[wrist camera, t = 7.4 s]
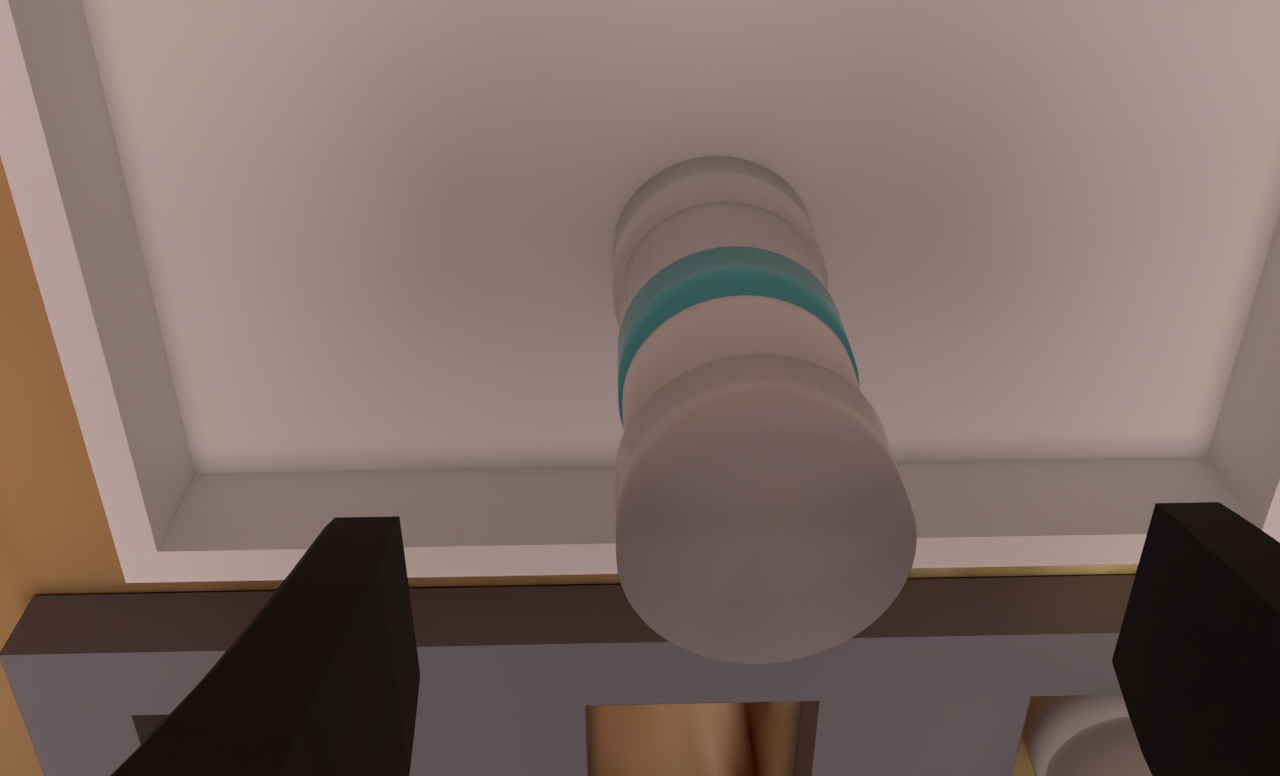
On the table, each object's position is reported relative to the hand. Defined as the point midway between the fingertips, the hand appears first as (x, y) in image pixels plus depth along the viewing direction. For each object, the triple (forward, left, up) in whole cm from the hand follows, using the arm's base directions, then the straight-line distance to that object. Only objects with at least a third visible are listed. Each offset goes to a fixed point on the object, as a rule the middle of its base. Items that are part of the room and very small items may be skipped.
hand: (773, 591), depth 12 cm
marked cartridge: (0, 0, -8) cm, 8 cm away
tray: (+1, 0, -8) cm, 8 cm away
